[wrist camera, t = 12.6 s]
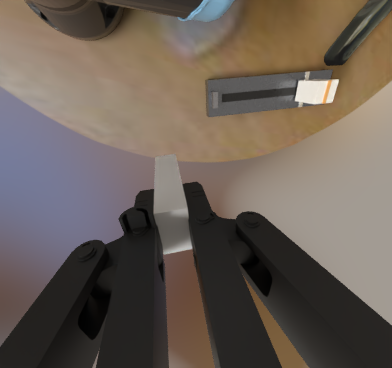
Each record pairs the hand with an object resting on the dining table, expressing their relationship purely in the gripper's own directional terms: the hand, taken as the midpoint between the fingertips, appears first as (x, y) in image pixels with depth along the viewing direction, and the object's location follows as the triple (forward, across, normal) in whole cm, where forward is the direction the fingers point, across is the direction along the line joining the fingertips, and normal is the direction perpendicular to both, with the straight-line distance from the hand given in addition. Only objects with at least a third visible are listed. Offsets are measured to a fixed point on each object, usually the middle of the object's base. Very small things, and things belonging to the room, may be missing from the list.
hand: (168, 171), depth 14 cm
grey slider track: (+29, +24, +2) cm, 38 cm away
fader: (+27, +32, +1) cm, 42 cm away
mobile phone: (+30, +42, +12) cm, 53 cm away
